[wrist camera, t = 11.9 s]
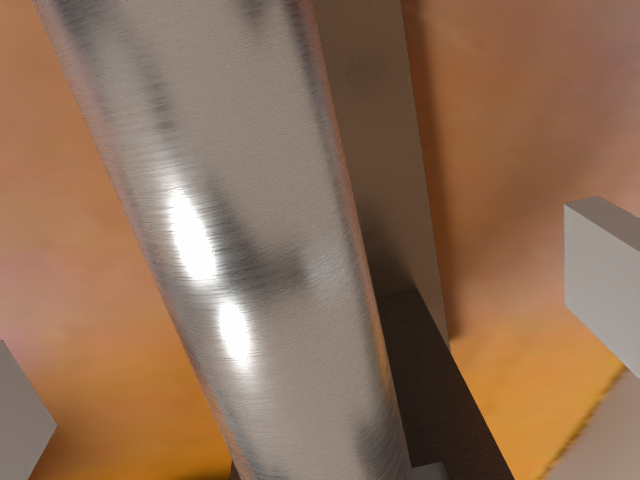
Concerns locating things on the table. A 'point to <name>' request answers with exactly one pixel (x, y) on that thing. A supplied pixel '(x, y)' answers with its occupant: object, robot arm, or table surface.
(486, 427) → the bracket rack
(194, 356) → the steel rod
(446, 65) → the table surface
